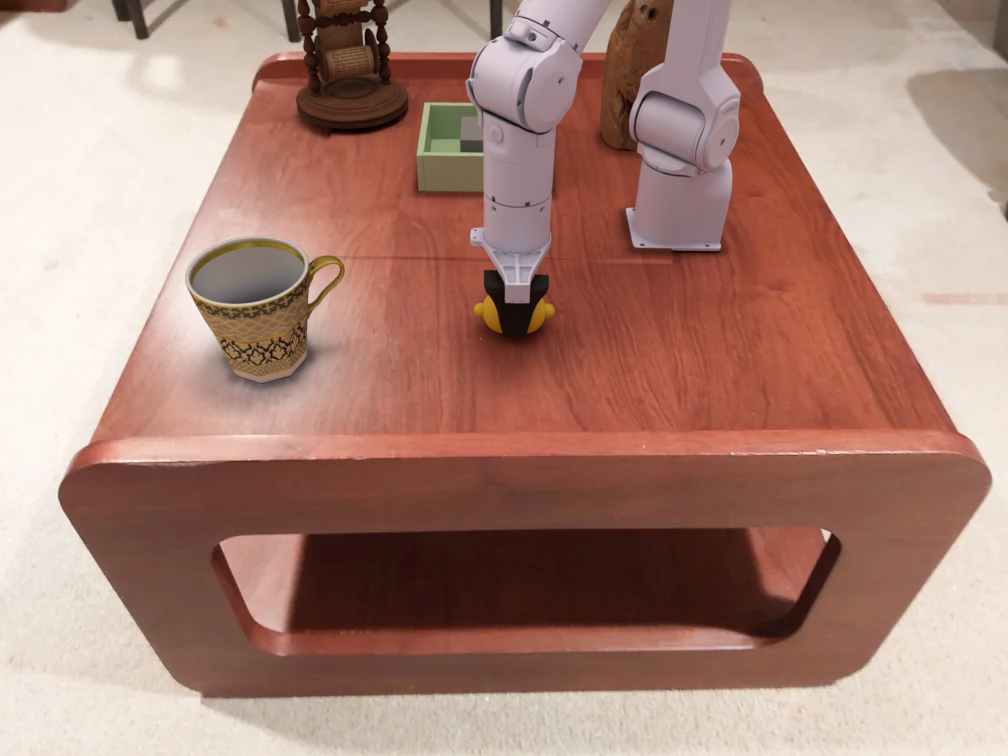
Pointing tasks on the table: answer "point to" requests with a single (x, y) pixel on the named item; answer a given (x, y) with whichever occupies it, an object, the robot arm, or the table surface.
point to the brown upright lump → (631, 64)
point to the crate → (447, 150)
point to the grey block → (471, 136)
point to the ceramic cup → (258, 302)
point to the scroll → (347, 67)
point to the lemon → (492, 320)
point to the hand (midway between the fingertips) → (513, 316)
